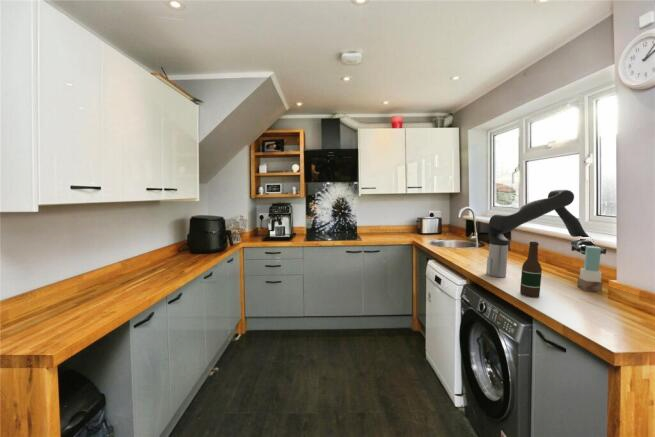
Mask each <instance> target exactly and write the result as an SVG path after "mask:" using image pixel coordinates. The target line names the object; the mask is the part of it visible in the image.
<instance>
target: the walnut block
mask: <svg viewBox="0 0 655 437" xmlns="http://www.w3.org/2000/svg"><path fill="white" fill-rule="evenodd" d="M603 285H604V284H603V282H602V281H601V282H591V281H585V280H583V279H581V278H580V277H578V278H577V287H578V288H577V289H579V288H580V290H581V291H583V292H588V293H597V292H601V293H600V294H602V292H603Z"/></svg>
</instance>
